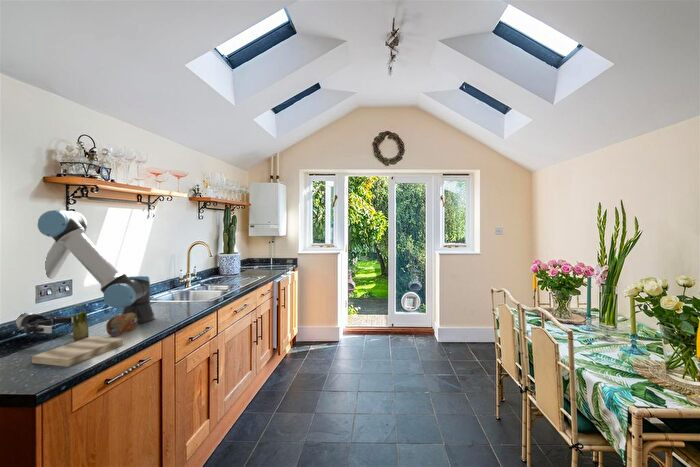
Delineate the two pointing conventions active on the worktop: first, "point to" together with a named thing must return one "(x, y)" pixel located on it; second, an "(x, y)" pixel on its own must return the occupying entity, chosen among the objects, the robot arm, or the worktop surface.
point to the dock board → (77, 351)
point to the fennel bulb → (80, 326)
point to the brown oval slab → (122, 324)
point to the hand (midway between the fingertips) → (68, 325)
